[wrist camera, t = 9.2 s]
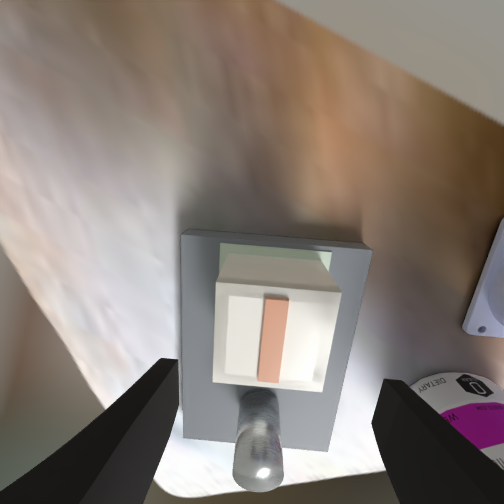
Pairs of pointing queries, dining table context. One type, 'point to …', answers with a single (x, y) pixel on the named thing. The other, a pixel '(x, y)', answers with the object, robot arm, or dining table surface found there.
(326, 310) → the white cube with stripe
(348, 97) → the dining table surface
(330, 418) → the board
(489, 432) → the supplement can
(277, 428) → the post
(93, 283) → the dining table surface
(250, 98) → the dining table surface
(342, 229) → the dining table surface
